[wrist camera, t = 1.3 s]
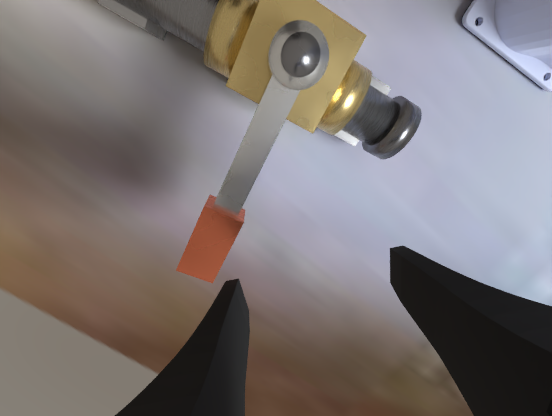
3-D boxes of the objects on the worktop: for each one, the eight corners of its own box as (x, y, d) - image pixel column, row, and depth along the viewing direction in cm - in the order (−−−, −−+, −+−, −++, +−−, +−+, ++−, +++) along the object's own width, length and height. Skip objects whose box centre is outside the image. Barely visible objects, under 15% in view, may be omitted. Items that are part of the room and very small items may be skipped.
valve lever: (283, 16, 11) (288, 1, 10) (332, 47, 12) (344, 39, 10) (181, 252, 16) (171, 272, 14) (219, 266, 17) (215, 287, 15)
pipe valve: (397, 96, 19) (454, 96, 13) (358, 156, 20) (395, 178, 15) (110, -89, 14) (14, -209, 9) (90, 9, 16) (-1, -38, 10)
